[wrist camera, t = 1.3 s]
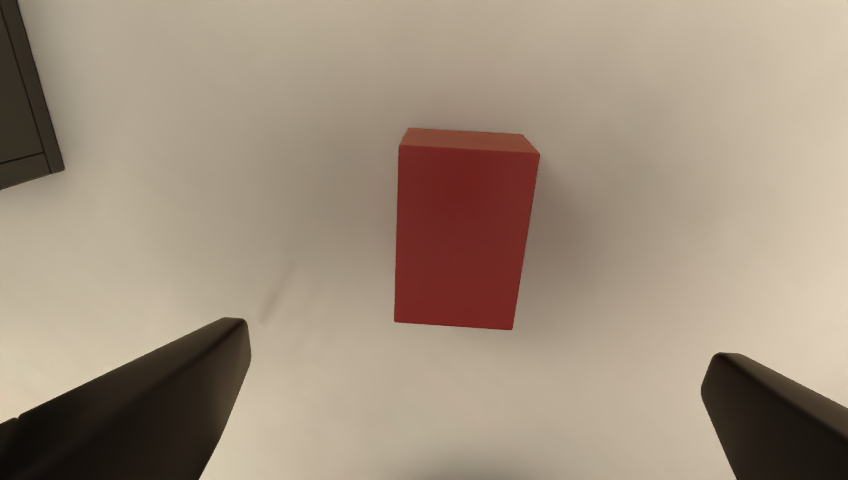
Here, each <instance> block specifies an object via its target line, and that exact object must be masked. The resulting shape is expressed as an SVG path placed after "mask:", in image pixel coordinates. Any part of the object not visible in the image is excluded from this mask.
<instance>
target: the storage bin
mask: <svg viewBox="0 0 848 480" xmlns="http://www.w3.org/2000/svg"><path fill="white" fill-rule="evenodd" d="M63 170H64V167H63V164H62V160H61V157H60V153H59V150H58V146H57V143H56V139H55V136H54V132H53V129H52V125H51V122H50V118H49V115H48V111H47V108H46V104H45V101H44V97H43V94H42V90H41V87H40V83H39V80H38V76H37V73H36V69H35V66H34V62H33V59H32V55H31V52H30V48H29V45H28V41H27V38H26V34H25V31H24V27H23V24H22V20H21V17H20V13H19V10H18V6H17V3H16V0H0V190H2V189H5V188H8V187H11V186H14V185H18V184H21V183H24V182H27V181H30V180H33V179H37V178H40V177H43V176H46V175H49V174H53V173H56V172H60V171H63Z"/></svg>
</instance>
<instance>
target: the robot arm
mask: <svg viewBox="0 0 848 480" xmlns="http://www.w3.org/2000/svg"><path fill="white" fill-rule="evenodd" d="M250 362H251V347H250V339H249V331H248V325H247V322H246V321H245V320H244V319H242V318H230V317H224V318H221V319H219V320H217V321H215V322H213V323H210V324H208V325H206V326H204V327H202V328H200V329H198V330H196V331H194V332H192V333H190V334H187V335H185V336H183V337H181V338H179V339H177V340H175V341H173V342H171V343H169V344H167V345H164V346H162V347H160V348H158V349H156V350H154V351H152V352H150V353H148V354H146V355H144V356H141V357H139V358H137V359H135V360H133V361H131V362H129V363H127V364H125V365H123V366H121V367H119V368H116V369H114V370H112V371H110V372H108V373H106V374H104V375H102V376H100V377H98V378H96V379H93V380H91V381H89V382H87V383H85V384H83V385H81V386H79V387H77V388H75V389H73V390H70V391H68V392H66V393H64V394H62V395H60V396H58V397H56V398H54V399H52V400H50V401H47V402H45V403H43V404H41V405H39V406H37V407H35V408H33V409H31V410H29V411H27V412H24V413H22V414H21V415H20V416H19V417H18V418H12V419H10V420H7V421H5V422H3V423H1V424H0V480H199V478H200V476H201V475H202V473H203V471H204V469H205V467H206V465H207V463H208V461H209V459H210V457H211V456H212V454H213V452H214V450H215V448H216V446H217V444H218V442H219V440H220V438H221V436H222V433H223V431H224V429H225V426H226V424H227V421H228V419H229V416H230V414H231V411H232V409H233V406H234V404H235V401H236V399H237V396H238V394H239V391H240V388H241V386H242V383H243V381H244V378H245V376H246V373H247V371H248V368H249V366H250ZM701 396H702V400H703V402H704V405H705V407H706V410H707V412H708V414H709V417H710V419H711V421H712V424H713V426H714V428H715V431H716V433H717V435H718V438H719V440H720V442H721V445H722V447H723V450H724V452H725V454H726V457H727V459H728V461H729V464H730V466H731V468H732V470H733V472H734V475H735V477H736V479H737V480H848V408H846V407H844V406H842V405H840V404H838V403H836V402H834V401H832V400H830V399H828V398H826V397H824V396H823V395H821V394H819V393H817V392H815V391H813V390H811V389H809V388H807V387H805V386H803V385H801V384H799V383H797V382H795V381H793V380H791V379H789V378H787V377H785V376H783V375H781V374H779V373H777V372H775V371H773V370H772V369H770V368H768V367H766V366H764V365H762V364H760V363H758V362H756V361H754V360H752V359H750V358H748V357H746V356H744V355H742V354H738V353H722V352H719V353H717V354H715V355H714V356H713V357H712V359H711V362H710V364H709V367H708V370H707V372H706V375H705V377H704V380H703V383H702V386H701Z"/></svg>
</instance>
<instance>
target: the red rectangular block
mask: <svg viewBox="0 0 848 480" xmlns="http://www.w3.org/2000/svg"><path fill="white" fill-rule="evenodd" d="M539 158H540V154H539V153H538V151H537V150H536V149H535V148H534V147H533V146H532V145H531V144H530V142H529V141H528V140H527V139H526V138H525V137H524V136H523V135H521V134H504V133H487V132H470V131H453V130H436V129H419V128H408V129H407V131H406V133H405V135H404V137H403V139H402V141H401V143H400V145H399V157H398V194H397V231H396V268H395V305H394V321H395V322H399V323H413V324H428V325H443V326H457V327H472V328H486V329H501V330H512V328H513V323H514V316H515V310H516V304H517V297H518V291H519V284H520V278H521V272H522V265H523V259H524V253H525V246H526V240H527V234H528V227H529V221H530V215H531V208H532V202H533V196H534V189H535V183H536V177H537V170H538V164H539Z"/></svg>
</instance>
